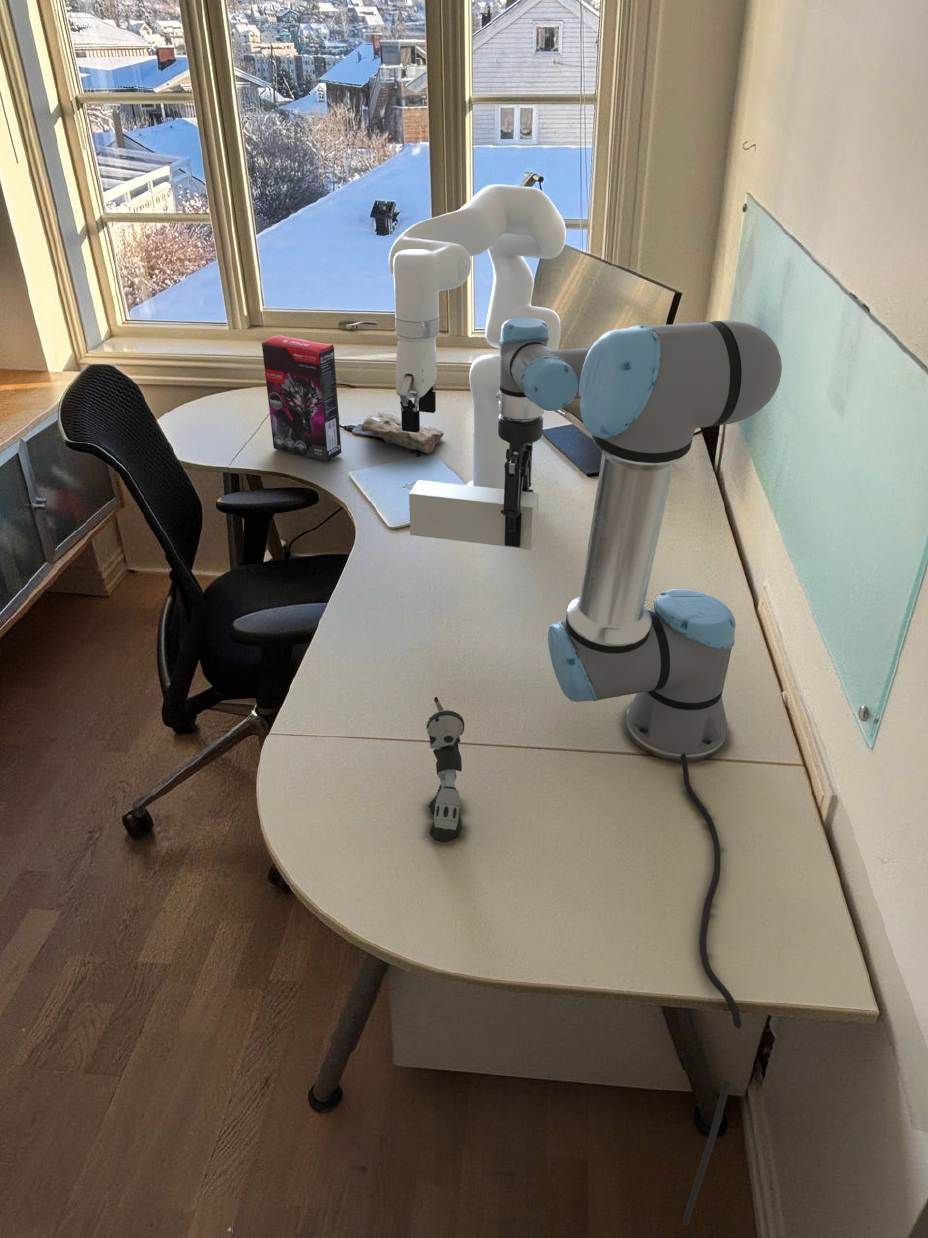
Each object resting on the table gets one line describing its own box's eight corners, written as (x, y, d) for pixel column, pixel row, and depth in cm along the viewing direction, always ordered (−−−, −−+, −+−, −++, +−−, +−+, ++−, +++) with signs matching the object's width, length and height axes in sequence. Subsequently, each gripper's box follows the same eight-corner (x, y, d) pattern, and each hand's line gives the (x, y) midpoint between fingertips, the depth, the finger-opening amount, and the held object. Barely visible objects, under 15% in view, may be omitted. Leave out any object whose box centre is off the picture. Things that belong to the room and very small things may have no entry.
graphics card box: (271, 449, 231) (258, 341, 215) (288, 440, 236) (276, 333, 220) (327, 463, 224) (318, 352, 209) (343, 453, 229) (336, 344, 214)
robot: (467, 874, 119) (468, 759, 108) (429, 876, 119) (427, 760, 108) (460, 769, 135) (460, 659, 124) (426, 770, 135) (424, 660, 124)
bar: (536, 534, 169) (538, 492, 164) (530, 549, 164) (532, 507, 159) (419, 520, 173) (418, 479, 169) (410, 535, 168) (408, 493, 164)
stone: (345, 437, 230) (349, 413, 227) (367, 428, 243) (371, 405, 241) (423, 461, 226) (429, 437, 224) (441, 451, 239) (446, 428, 237)
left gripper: (412, 311, 166) (414, 402, 176) (379, 339, 153) (383, 436, 162) (452, 315, 165) (451, 406, 174) (423, 343, 151) (424, 441, 160)
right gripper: (510, 393, 162) (506, 511, 175) (486, 433, 147) (484, 559, 160) (552, 397, 161) (545, 515, 174) (532, 437, 146) (526, 564, 158)
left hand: (419, 421), depth 168 cm, fingers open, 9 cm apart
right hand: (515, 536), depth 167 cm, fingers closed on bar, 6 cm apart
